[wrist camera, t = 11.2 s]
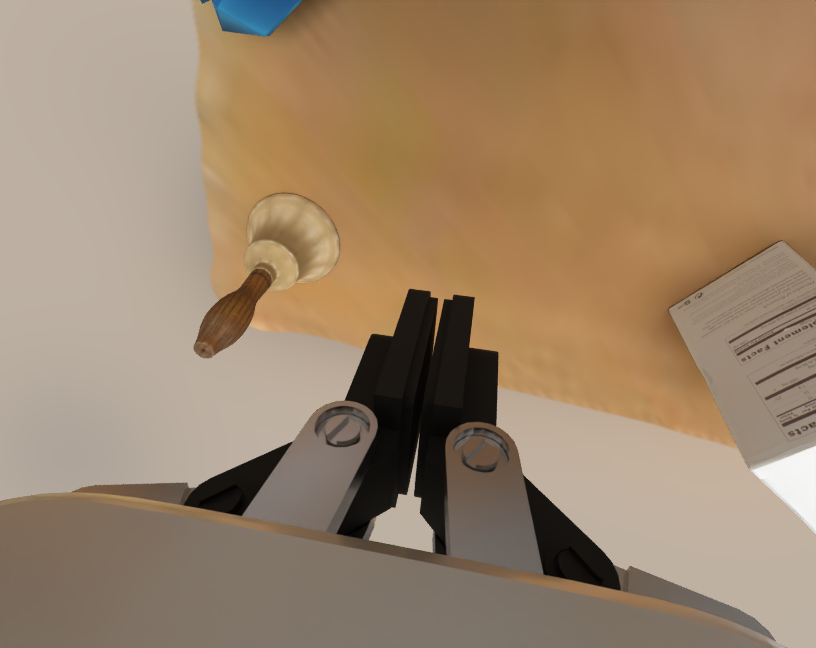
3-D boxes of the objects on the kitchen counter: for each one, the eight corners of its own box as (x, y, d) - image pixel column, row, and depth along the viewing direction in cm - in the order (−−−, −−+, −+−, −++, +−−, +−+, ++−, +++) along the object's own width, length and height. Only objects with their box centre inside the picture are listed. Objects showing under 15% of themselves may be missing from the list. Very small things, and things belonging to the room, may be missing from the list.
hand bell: (336, 195, 39) (251, 295, 26) (343, 285, 44) (275, 407, 31) (239, 189, 40) (112, 282, 27) (257, 277, 45) (155, 393, 32)
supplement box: (845, 317, 38) (1042, 502, 24) (728, 376, 42) (835, 559, 29) (781, 235, 35) (959, 389, 21) (663, 308, 40) (747, 473, 26)
